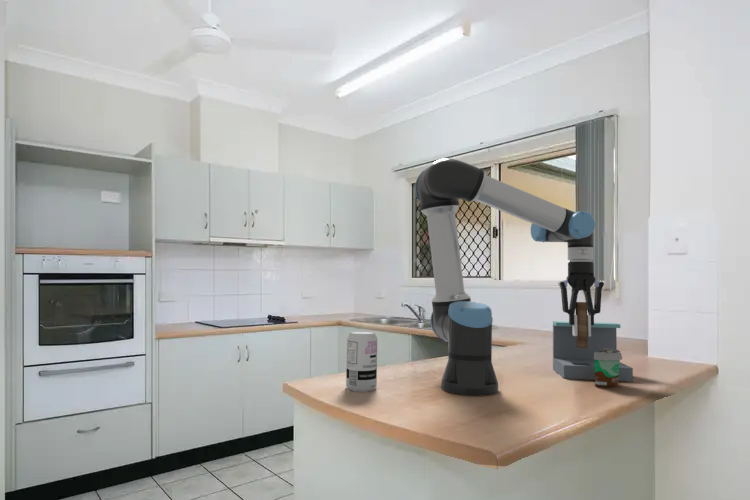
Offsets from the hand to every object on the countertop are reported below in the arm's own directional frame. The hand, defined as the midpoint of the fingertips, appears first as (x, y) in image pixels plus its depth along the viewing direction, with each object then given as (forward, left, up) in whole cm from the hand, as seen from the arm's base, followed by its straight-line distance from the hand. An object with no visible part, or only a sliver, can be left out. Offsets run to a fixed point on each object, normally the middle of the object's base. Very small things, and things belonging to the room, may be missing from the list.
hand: (581, 335), depth 151 cm
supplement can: (-65, -30, -13) cm, 73 cm away
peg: (0, 0, -4) cm, 4 cm away
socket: (+4, +3, -13) cm, 14 cm away
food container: (+5, -11, -13) cm, 18 cm away
